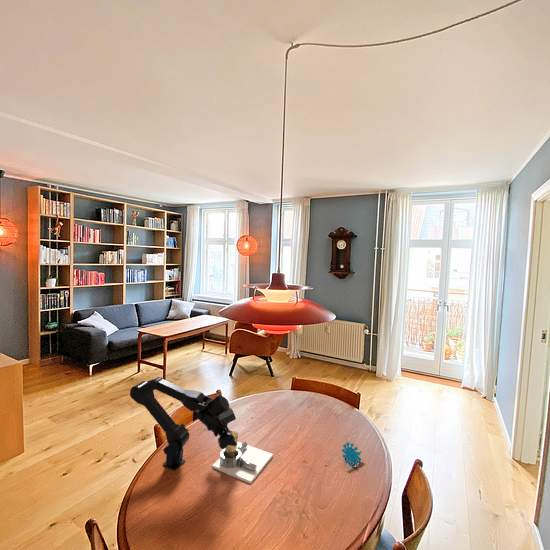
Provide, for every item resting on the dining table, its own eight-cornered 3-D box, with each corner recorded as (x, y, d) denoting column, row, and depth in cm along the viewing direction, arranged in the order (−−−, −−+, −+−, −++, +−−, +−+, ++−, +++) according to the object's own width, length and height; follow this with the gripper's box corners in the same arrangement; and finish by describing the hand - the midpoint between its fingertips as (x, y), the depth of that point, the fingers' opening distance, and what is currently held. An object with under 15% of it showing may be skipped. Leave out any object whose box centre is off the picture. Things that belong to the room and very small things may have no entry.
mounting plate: (250, 483, 123) (250, 481, 123) (212, 467, 131) (212, 465, 131) (273, 456, 141) (273, 454, 141) (237, 443, 149) (237, 441, 149)
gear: (348, 468, 134) (340, 442, 140) (340, 472, 138) (332, 446, 144) (367, 465, 140) (358, 440, 146) (358, 468, 143) (350, 444, 149)
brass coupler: (232, 462, 131) (233, 439, 131) (221, 458, 133) (223, 435, 133) (238, 456, 136) (240, 433, 135) (228, 452, 138) (230, 429, 137)
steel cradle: (249, 478, 126) (250, 468, 125) (215, 464, 133) (216, 455, 132) (268, 456, 140) (268, 447, 140) (236, 444, 147) (237, 436, 147)
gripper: (230, 415, 123) (255, 438, 128) (219, 395, 140) (242, 416, 145) (208, 438, 121) (235, 460, 125) (200, 414, 138) (224, 435, 143)
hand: (234, 441), depth 135 cm, fingers closed on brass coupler, 5 cm apart
